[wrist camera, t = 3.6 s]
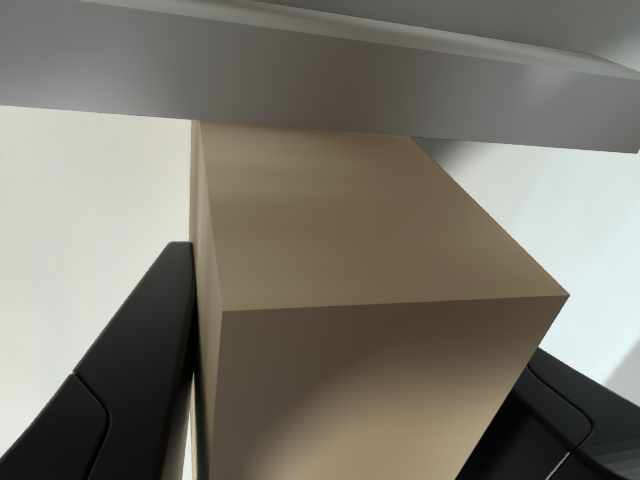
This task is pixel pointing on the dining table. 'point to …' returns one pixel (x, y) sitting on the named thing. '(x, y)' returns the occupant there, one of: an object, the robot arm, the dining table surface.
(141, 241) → the dining table surface
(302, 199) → the scraper
